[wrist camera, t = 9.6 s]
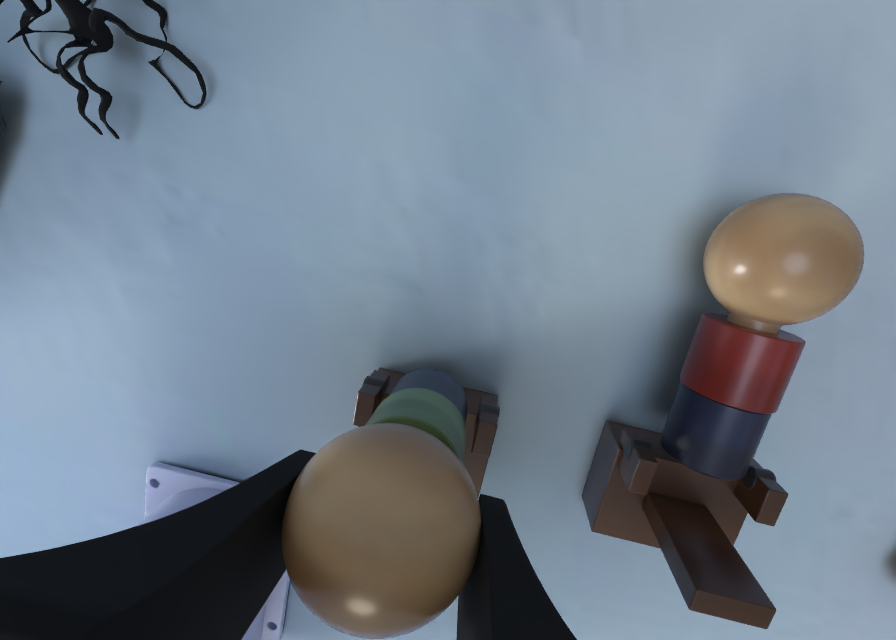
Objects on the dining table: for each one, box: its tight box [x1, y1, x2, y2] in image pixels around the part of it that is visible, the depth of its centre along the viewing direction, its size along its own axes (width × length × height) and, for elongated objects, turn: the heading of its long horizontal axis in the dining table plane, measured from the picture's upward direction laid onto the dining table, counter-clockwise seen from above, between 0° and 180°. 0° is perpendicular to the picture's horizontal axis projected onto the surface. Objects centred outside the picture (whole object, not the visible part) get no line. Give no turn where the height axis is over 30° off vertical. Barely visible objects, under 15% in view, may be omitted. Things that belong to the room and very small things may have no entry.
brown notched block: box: [353, 368, 500, 497], centre depth 18 cm, size 5×6×8 cm
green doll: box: [282, 368, 481, 639], centre depth 13 cm, size 10×4×4 cm
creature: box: [0, 0, 206, 139], centre depth 17 cm, size 8×5×8 cm
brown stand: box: [582, 421, 788, 629], centre depth 18 cm, size 5×6×8 cm
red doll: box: [660, 193, 864, 481], centre depth 17 cm, size 10×4×4 cm, turn 168°
